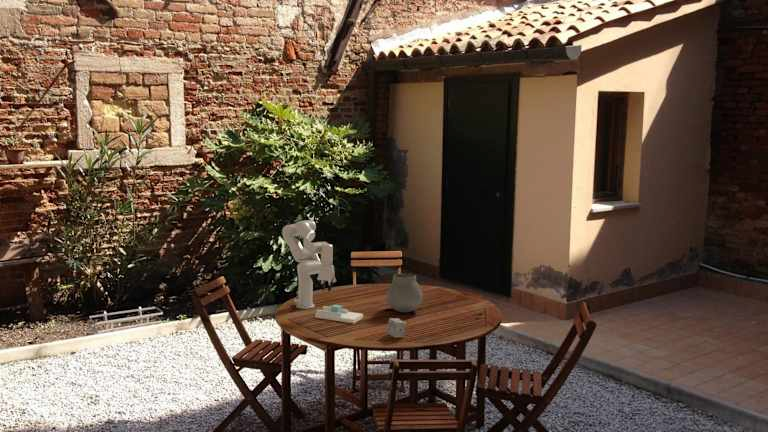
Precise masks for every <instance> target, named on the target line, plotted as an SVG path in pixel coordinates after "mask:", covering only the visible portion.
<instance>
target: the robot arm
mask: <svg viewBox="0 0 768 432" xmlns="http://www.w3.org/2000/svg"><path fill="white" fill-rule="evenodd" d="M316 228H317V225H316V223H315V221H314V220H311V219H308V220H305V219H304V220H299V221H297V222H296V223H293V224H287V225H285V226H283V228H282V233H281V234H282V238H283V240H284V241H285V243H286V245H287V246H288V247H289V251H290V252H291V255H292V256H293V258H294V259H293V260H295V262H297V263H298V264H297V266H296V269H297V276H298V299H297V298H294V299H293V303H296V305H295V306H296V308H297V309H301V310H302V309H303V310H309V309H313V308H315V307H316V306H315V303H313V297H314V296H313V293H314V291H313V288H314V286H313V279H312V278H311V277H312V276H311V275H316V274H318V276H317V278H316V279H317V281H319V283H320V284H321V291H325V290H326V283H325V282H328V284H327V292H330V291H332V285H333V284H334V283H336V282H337V279H336V276H335V266H334V265H333V264H334V263H333V259H334V258H333V257H334V256H333V255H334V251H333V250H334V247H333V246H334V245H333V244H330V243H328V242H327V241H316V242H312V241H314V239H315V237H316V232H315V231H316V230H317V229H316ZM296 237H301V238H302V239H303V240H302V241H303V242H302V243H303V245H302V243H301V241H300V240H299V239H298V238H296ZM318 254H320V257H319V256H318Z"/></svg>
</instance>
